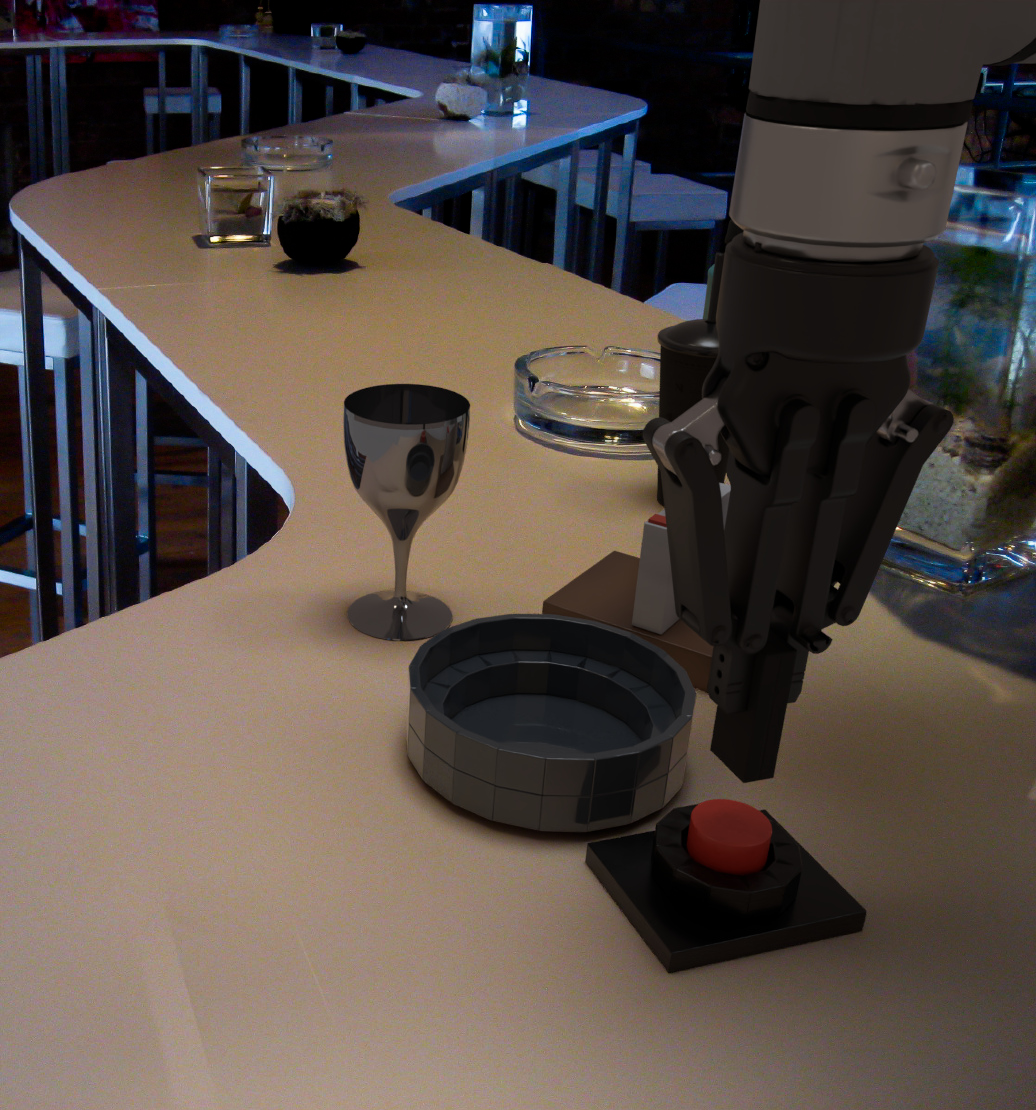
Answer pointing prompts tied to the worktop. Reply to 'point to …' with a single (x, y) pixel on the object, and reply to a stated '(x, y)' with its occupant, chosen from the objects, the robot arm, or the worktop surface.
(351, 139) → the worktop surface
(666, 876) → the switch
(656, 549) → the block
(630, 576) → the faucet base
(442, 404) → the wine glass
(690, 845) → the button
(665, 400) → the drinking cup
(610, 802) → the basin
